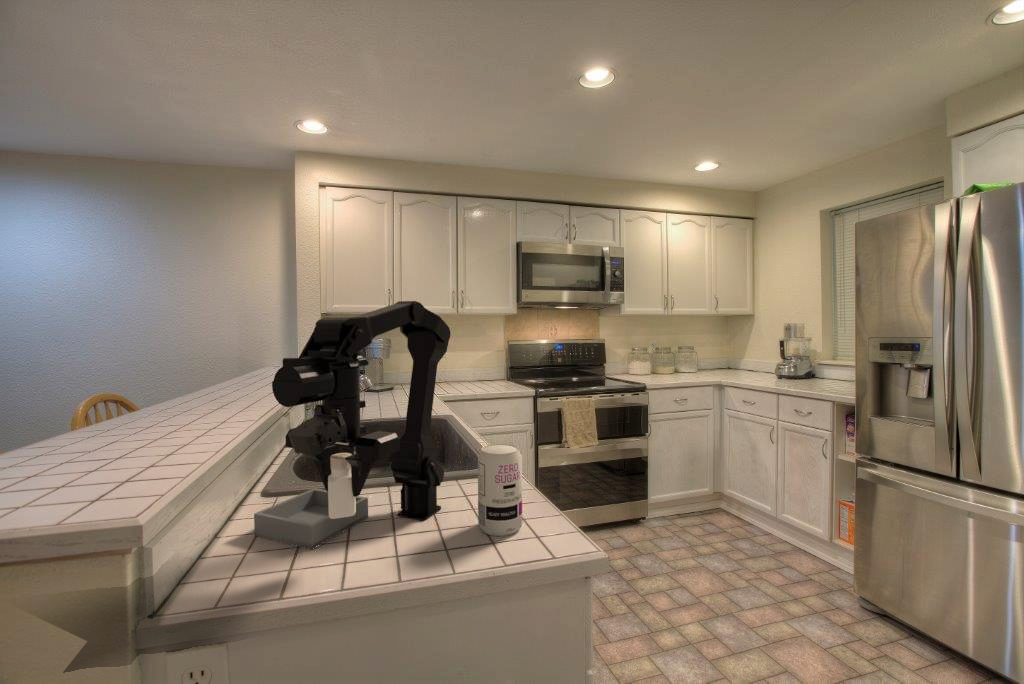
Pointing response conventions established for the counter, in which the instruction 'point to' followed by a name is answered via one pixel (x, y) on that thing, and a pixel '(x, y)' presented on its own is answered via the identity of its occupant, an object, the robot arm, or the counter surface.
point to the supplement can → (500, 489)
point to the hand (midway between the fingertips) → (342, 493)
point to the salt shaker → (340, 488)
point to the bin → (306, 519)
